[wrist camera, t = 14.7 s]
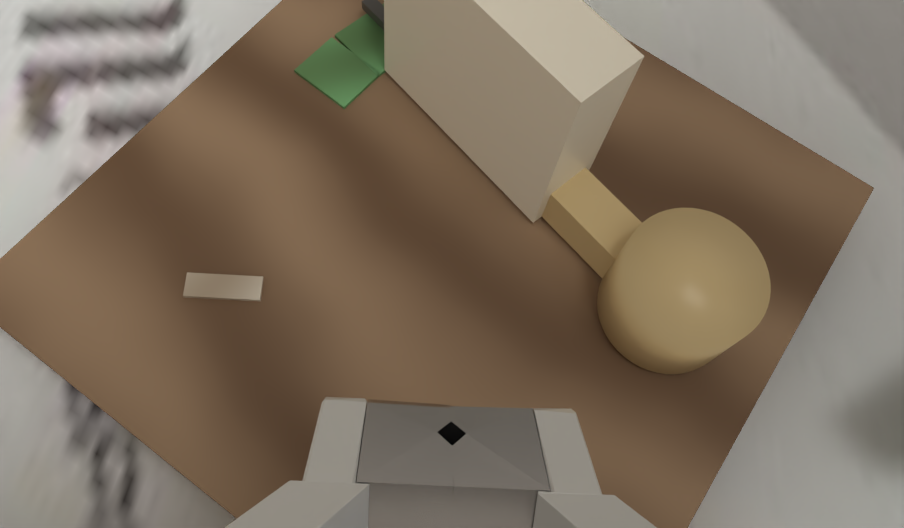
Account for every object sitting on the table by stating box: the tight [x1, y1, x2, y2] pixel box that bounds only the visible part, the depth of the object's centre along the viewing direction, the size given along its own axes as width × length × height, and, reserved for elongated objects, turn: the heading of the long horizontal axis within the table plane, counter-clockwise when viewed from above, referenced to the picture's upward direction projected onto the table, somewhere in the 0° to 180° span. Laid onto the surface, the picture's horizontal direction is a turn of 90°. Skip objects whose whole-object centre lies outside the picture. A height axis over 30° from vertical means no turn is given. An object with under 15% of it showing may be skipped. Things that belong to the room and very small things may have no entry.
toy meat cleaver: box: [362, 0, 771, 374], centre depth 23 cm, size 18×4×7 cm, turn 41°
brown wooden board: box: [0, 0, 874, 528], centre depth 26 cm, size 22×22×2 cm
